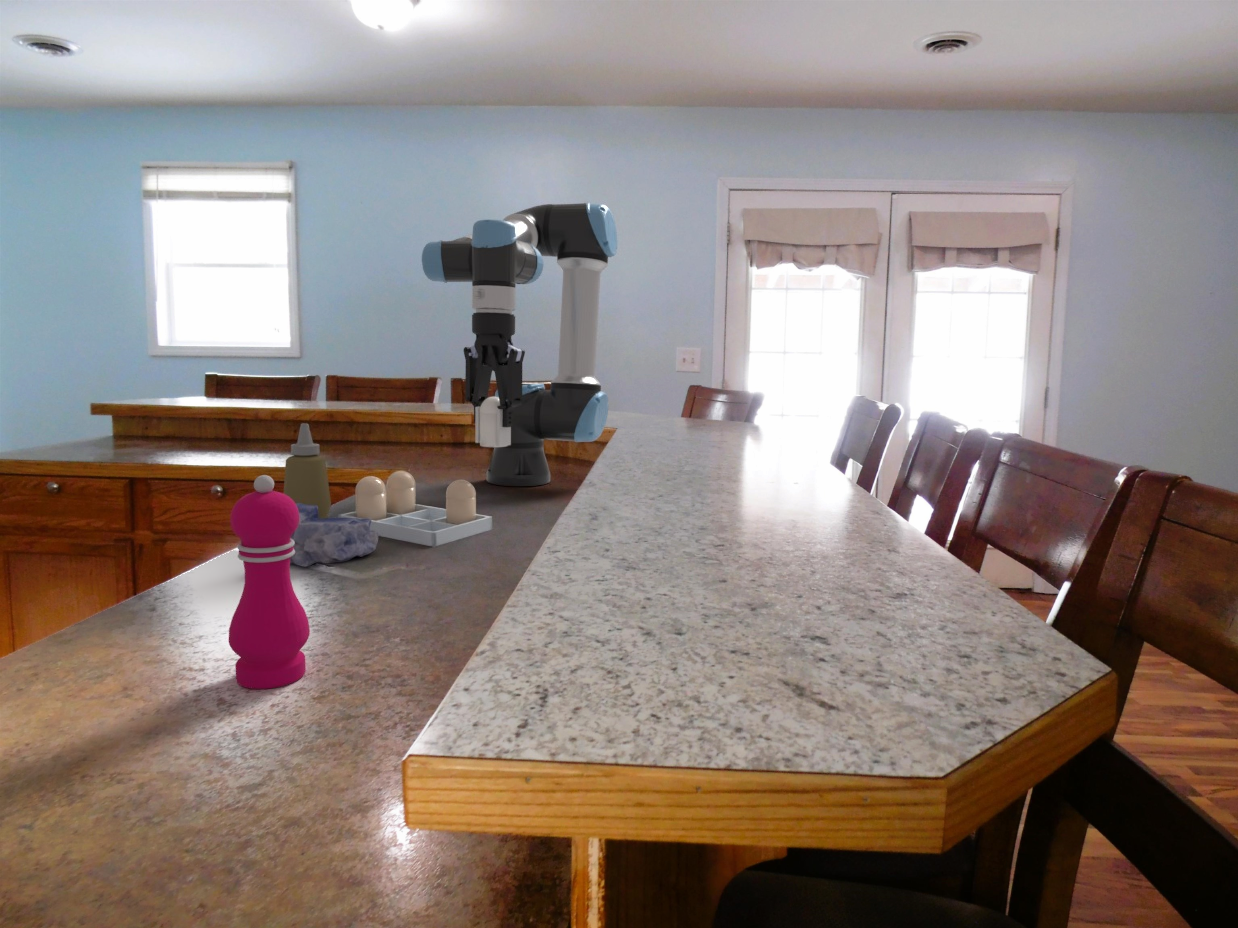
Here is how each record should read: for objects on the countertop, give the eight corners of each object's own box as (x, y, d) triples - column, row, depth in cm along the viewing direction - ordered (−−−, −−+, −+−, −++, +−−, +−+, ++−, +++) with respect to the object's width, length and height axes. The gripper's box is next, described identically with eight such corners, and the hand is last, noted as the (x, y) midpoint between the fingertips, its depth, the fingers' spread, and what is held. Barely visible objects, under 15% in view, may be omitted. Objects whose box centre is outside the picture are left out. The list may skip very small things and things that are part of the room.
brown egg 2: (400, 515, 146) (400, 468, 145) (421, 518, 144) (421, 470, 142) (380, 519, 142) (380, 471, 140) (401, 523, 139) (401, 474, 138)
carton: (401, 517, 148) (400, 501, 147) (492, 533, 137) (492, 516, 137) (338, 532, 135) (338, 514, 135) (434, 551, 125) (433, 532, 124)
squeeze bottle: (315, 532, 135) (312, 427, 132) (272, 528, 136) (268, 424, 134) (340, 522, 143) (338, 422, 140) (300, 519, 144) (297, 420, 141)
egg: (495, 442, 146) (495, 395, 144) (513, 445, 143) (514, 396, 141) (474, 445, 142) (474, 396, 141) (493, 448, 139) (493, 397, 137)
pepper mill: (224, 671, 78) (215, 472, 75) (300, 656, 83) (294, 467, 80) (238, 698, 73) (228, 484, 70) (319, 681, 77) (313, 478, 74)
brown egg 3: (459, 525, 139) (459, 476, 138) (481, 529, 137) (481, 479, 135) (439, 530, 135) (439, 480, 134) (462, 535, 132) (462, 483, 131)
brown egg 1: (372, 521, 140) (371, 473, 139) (392, 525, 137) (392, 476, 136) (349, 527, 136) (348, 476, 134) (370, 531, 133) (369, 479, 132)
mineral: (264, 508, 110) (290, 491, 120) (260, 572, 112) (286, 550, 122) (368, 522, 111) (385, 503, 121) (363, 585, 113) (380, 561, 123)
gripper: (443, 311, 141) (444, 440, 145) (513, 310, 130) (512, 450, 134) (476, 313, 147) (475, 437, 151) (545, 313, 136) (543, 447, 139)
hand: (492, 443), depth 142 cm, fingers closed on egg, 5 cm apart
